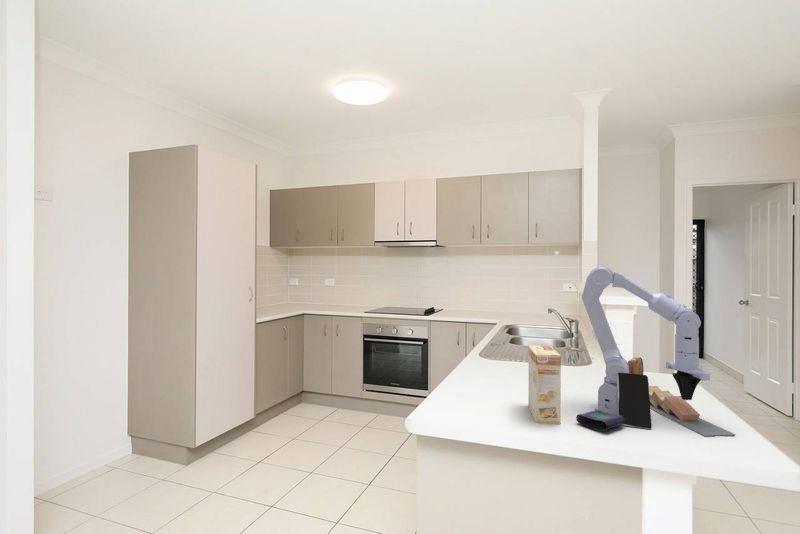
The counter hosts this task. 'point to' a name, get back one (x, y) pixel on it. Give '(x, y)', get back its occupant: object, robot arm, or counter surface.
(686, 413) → the domino
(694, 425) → the mat
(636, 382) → the smartphone
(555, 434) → the counter surface
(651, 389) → the domino
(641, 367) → the tin
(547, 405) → the coffeecake box
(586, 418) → the navy pouch
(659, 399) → the domino
